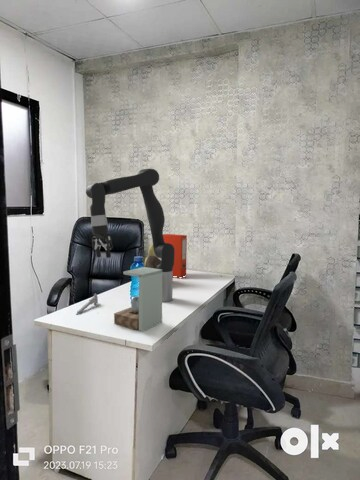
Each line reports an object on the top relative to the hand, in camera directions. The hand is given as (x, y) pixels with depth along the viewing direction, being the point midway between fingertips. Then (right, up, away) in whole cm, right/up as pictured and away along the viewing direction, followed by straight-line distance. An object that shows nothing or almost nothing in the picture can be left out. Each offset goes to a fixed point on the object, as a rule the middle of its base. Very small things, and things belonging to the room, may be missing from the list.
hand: (103, 257), depth 167 cm
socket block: (+17, -30, -9) cm, 36 cm away
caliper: (-11, -28, +12) cm, 32 cm away
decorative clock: (+18, -22, +69) cm, 75 cm away
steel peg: (+17, -30, -9) cm, 36 cm away
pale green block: (+21, -30, -11) cm, 38 cm away
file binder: (+33, -20, +93) cm, 101 cm away
